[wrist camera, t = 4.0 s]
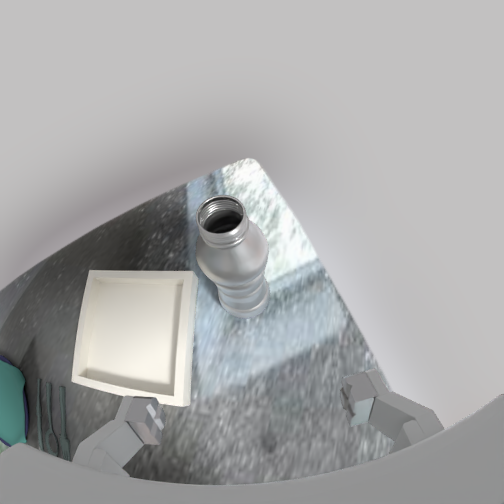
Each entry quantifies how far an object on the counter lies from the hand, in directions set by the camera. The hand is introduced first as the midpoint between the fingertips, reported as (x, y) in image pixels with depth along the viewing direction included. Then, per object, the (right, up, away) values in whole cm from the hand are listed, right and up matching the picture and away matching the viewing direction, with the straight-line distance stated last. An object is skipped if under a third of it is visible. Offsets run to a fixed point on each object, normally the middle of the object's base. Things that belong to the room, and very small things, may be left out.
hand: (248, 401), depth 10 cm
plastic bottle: (-1, 0, +27) cm, 27 cm away
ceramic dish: (-17, -6, +25) cm, 31 cm away
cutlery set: (-44, -24, +19) cm, 54 cm away
